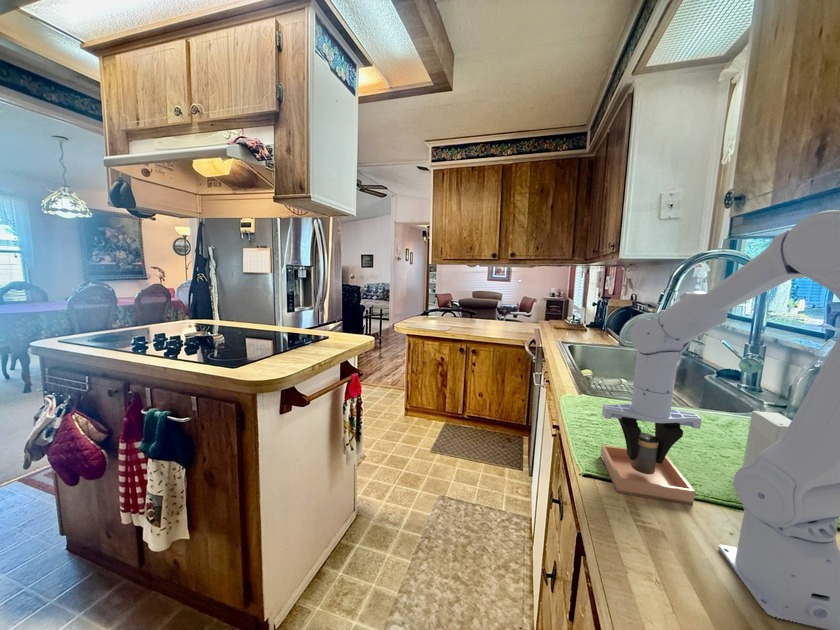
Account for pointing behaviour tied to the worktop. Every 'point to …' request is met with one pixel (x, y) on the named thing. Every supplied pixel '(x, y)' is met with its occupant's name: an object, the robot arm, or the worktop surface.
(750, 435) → the skincare box
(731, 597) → the worktop surface
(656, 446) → the cell
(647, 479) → the dish
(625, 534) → the worktop surface
